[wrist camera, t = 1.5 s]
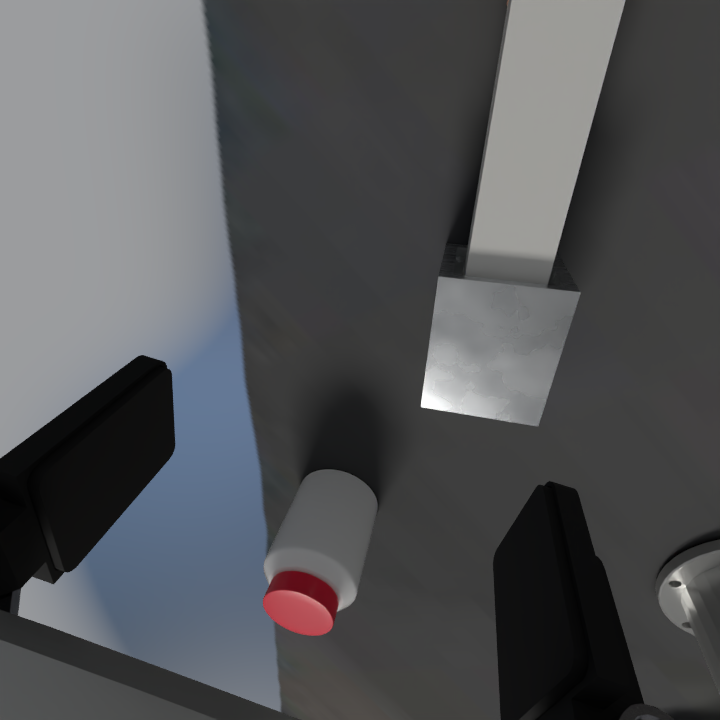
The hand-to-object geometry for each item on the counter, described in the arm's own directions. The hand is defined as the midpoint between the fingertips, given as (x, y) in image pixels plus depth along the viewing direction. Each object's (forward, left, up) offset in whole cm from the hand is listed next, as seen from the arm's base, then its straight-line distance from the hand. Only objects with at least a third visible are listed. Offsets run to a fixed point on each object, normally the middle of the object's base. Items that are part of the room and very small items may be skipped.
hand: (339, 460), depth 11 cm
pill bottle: (+5, +24, -20) cm, 32 cm away
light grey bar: (-5, -4, -20) cm, 20 cm away
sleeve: (-5, +3, -20) cm, 20 cm away
